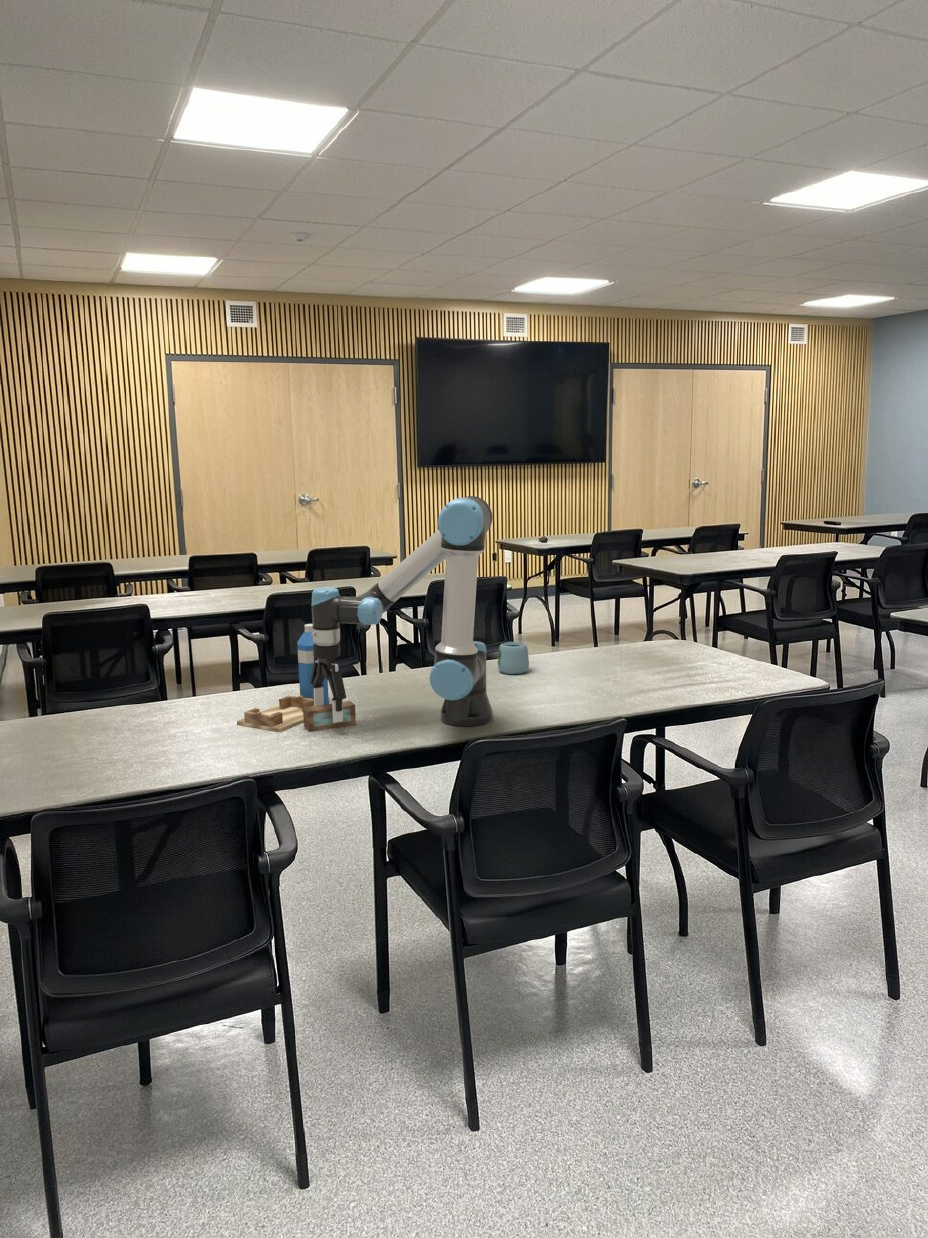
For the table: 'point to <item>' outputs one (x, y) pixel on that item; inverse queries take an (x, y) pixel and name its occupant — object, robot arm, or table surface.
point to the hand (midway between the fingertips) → (328, 715)
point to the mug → (513, 658)
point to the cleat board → (278, 714)
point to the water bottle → (308, 665)
